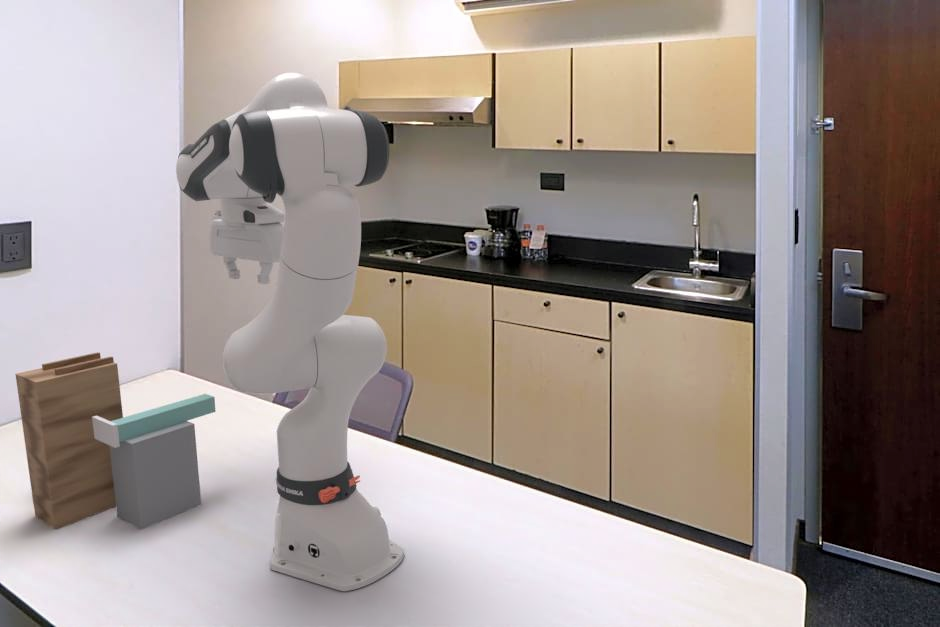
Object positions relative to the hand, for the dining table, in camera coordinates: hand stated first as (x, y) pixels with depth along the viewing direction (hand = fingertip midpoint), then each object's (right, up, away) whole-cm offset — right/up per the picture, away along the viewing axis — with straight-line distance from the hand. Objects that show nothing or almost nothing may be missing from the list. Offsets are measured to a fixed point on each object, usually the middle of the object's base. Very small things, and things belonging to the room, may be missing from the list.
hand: (248, 281), depth 152 cm
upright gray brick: (-13, -43, -13) cm, 46 cm away
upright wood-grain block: (-27, -43, -12) cm, 52 cm away
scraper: (-11, -27, -14) cm, 33 cm away
